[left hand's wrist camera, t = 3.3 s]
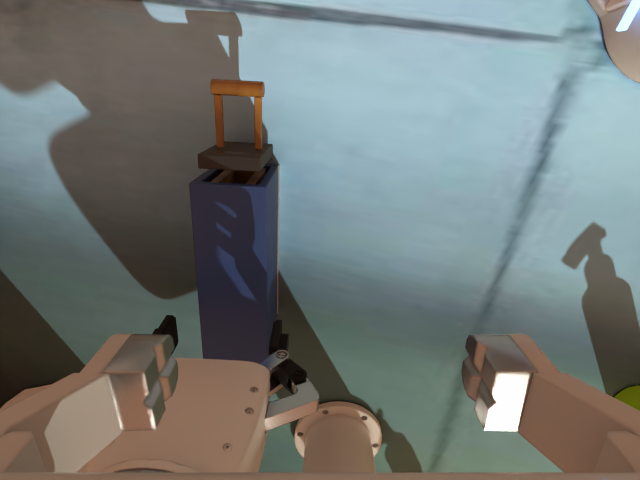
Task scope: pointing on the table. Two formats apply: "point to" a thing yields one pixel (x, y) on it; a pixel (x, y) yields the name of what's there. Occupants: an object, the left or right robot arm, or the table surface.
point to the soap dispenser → (630, 396)
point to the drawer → (236, 157)
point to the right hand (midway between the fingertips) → (225, 330)
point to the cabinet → (236, 264)
